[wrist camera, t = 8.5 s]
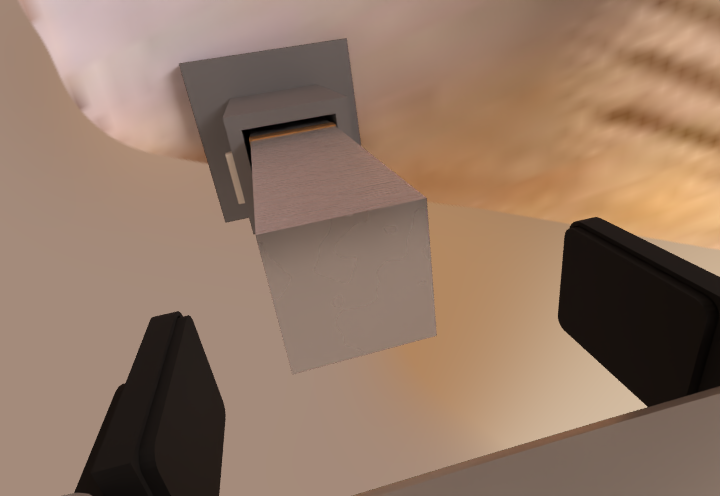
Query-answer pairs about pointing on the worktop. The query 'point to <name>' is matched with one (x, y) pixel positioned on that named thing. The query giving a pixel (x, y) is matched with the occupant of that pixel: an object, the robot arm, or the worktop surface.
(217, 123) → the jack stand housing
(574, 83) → the worktop surface
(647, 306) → the robot arm
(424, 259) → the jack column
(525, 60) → the worktop surface
